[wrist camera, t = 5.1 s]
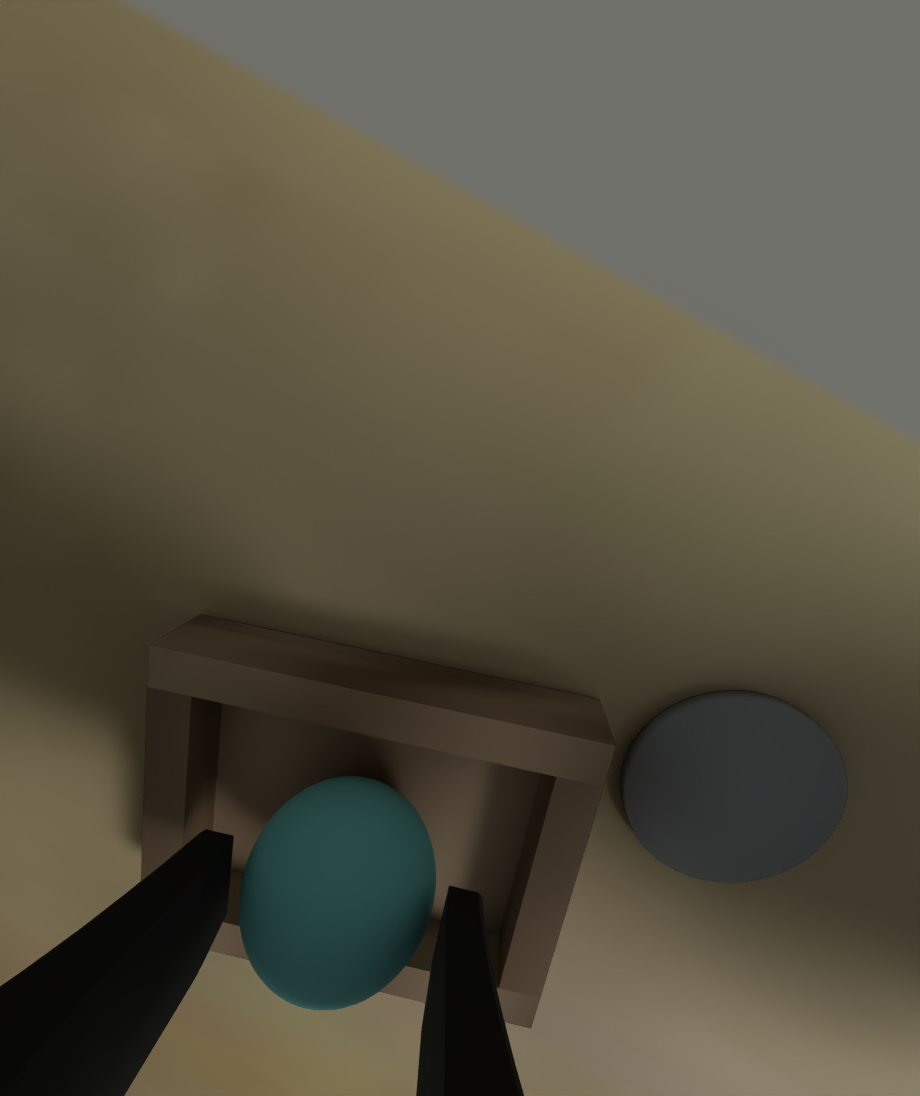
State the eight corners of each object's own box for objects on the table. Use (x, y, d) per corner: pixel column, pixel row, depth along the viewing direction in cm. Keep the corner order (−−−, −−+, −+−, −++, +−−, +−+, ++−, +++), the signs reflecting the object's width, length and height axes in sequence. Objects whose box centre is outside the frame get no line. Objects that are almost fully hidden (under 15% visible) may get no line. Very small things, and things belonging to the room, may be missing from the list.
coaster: (869, 715, 11) (882, 726, 11) (793, 887, 12) (803, 902, 12) (652, 670, 11) (657, 678, 11) (598, 843, 12) (602, 856, 12)
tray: (599, 699, 12) (616, 745, 10) (527, 951, 13) (531, 1028, 12) (200, 614, 12) (148, 644, 10) (184, 870, 14) (139, 933, 12)
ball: (464, 763, 11) (428, 929, 8) (436, 893, 12) (391, 1098, 9) (306, 721, 12) (196, 858, 8) (291, 850, 13) (186, 1027, 9)
